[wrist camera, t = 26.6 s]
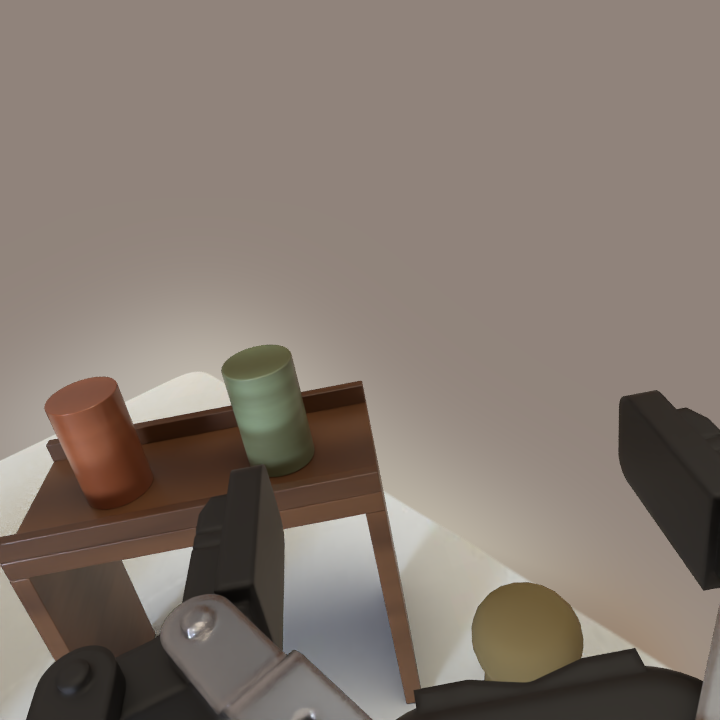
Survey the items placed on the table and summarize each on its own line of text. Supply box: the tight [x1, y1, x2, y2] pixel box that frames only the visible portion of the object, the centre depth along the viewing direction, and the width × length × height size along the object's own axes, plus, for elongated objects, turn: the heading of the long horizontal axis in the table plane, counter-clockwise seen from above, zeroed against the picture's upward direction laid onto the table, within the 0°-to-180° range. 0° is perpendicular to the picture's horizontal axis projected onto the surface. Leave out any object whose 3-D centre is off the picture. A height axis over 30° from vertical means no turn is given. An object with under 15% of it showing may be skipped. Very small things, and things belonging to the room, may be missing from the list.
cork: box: [472, 582, 583, 682], centre depth 34 cm, size 6×6×11 cm
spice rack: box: [0, 345, 421, 704], centre depth 39 cm, size 9×19×22 cm, turn 95°
